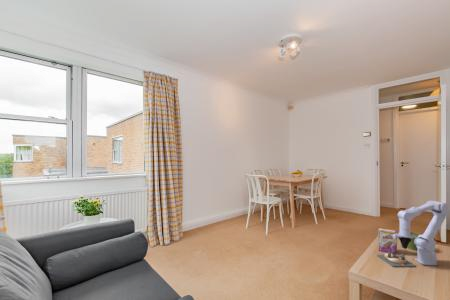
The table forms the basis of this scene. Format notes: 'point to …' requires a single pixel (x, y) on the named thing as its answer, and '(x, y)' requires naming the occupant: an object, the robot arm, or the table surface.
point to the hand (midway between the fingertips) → (404, 248)
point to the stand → (396, 263)
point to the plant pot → (411, 244)
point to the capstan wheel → (395, 257)
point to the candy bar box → (387, 240)
